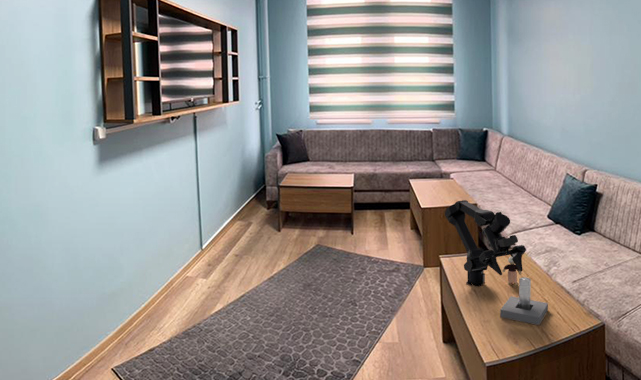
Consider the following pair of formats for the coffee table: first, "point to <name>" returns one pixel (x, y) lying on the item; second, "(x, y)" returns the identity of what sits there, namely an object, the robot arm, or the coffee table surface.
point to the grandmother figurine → (512, 272)
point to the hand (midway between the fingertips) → (511, 273)
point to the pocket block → (524, 311)
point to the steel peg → (524, 293)
